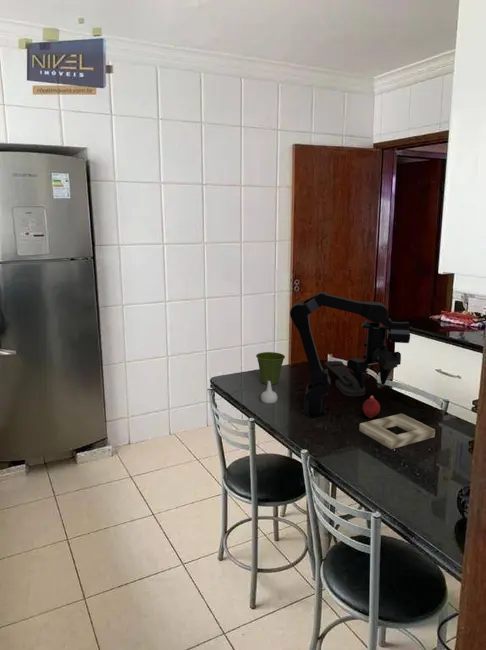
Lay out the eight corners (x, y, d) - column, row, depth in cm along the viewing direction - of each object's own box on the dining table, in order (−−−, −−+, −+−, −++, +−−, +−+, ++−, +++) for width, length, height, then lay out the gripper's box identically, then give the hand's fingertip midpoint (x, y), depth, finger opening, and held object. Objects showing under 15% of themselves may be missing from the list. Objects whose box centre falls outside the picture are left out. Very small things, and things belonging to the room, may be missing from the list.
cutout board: (391, 449, 142) (391, 441, 141) (359, 430, 154) (359, 423, 153) (434, 437, 150) (435, 429, 149) (401, 420, 162) (401, 413, 161)
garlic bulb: (280, 404, 177) (282, 383, 175) (265, 405, 174) (267, 384, 173) (271, 398, 182) (273, 378, 181) (257, 399, 180) (259, 378, 178)
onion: (378, 422, 160) (380, 400, 158) (360, 420, 162) (362, 397, 160) (380, 416, 165) (381, 394, 163) (362, 413, 167) (364, 392, 165)
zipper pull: (342, 360, 207) (369, 379, 183) (341, 375, 208) (368, 395, 185) (322, 361, 205) (347, 380, 181) (322, 376, 206) (346, 397, 183)
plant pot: (278, 388, 191) (278, 361, 189) (250, 384, 196) (251, 357, 194) (288, 379, 201) (289, 354, 199) (262, 375, 206) (262, 350, 204)
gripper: (370, 350, 146) (367, 398, 150) (415, 343, 155) (411, 389, 158) (347, 342, 156) (344, 387, 159) (390, 336, 164) (386, 379, 168)
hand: (372, 386), depth 161 cm, fingers open, 9 cm apart
